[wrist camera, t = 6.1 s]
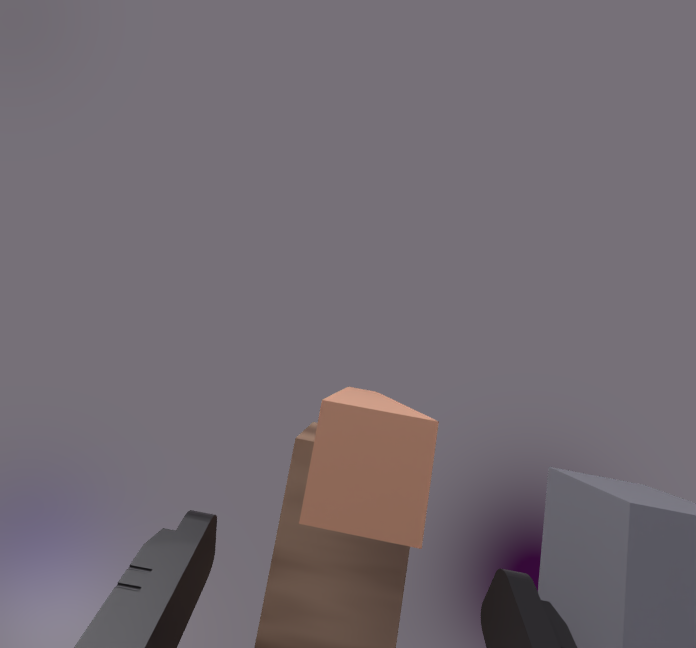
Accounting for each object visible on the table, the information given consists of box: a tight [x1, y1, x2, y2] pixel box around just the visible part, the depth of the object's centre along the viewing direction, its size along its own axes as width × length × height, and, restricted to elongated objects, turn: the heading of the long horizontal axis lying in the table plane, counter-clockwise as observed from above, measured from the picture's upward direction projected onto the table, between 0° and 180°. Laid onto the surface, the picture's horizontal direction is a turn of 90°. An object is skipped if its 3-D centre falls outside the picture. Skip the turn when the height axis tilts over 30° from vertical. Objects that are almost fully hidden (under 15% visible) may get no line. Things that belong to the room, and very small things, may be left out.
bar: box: [299, 387, 439, 549], centre depth 23 cm, size 28×3×3 cm, turn 179°
